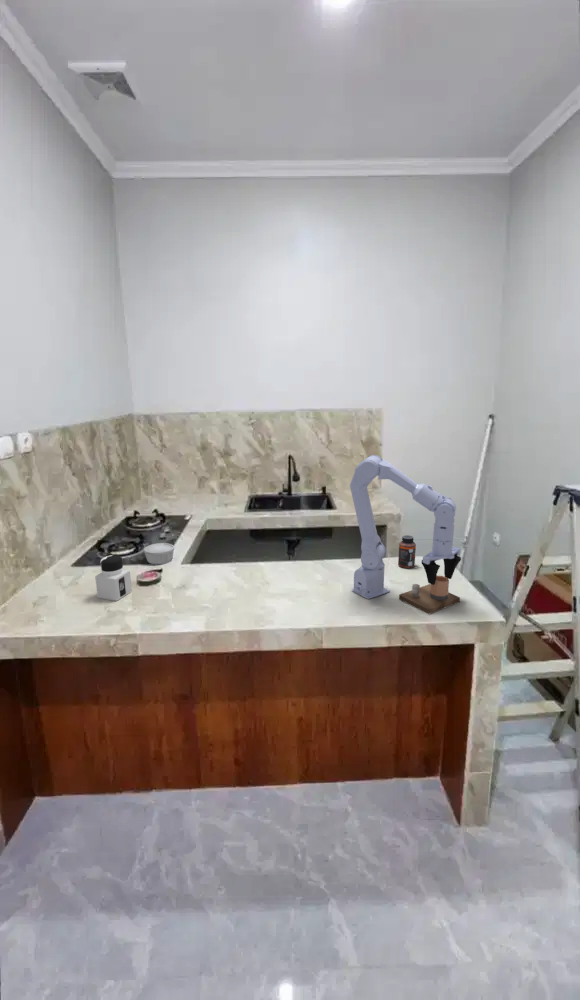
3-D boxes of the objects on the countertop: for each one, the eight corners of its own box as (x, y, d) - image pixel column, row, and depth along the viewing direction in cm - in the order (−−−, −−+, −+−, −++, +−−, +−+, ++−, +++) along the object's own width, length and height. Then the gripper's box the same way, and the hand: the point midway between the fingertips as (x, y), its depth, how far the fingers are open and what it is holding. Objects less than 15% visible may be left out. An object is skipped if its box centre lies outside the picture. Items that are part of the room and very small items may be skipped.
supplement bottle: (415, 569, 171) (416, 539, 168) (398, 568, 172) (399, 539, 170) (414, 563, 177) (415, 534, 174) (397, 562, 178) (399, 533, 175)
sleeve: (439, 601, 143) (441, 583, 141) (426, 595, 147) (427, 578, 145) (450, 597, 146) (452, 579, 144) (437, 591, 150) (438, 574, 148)
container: (132, 591, 156) (128, 554, 153) (117, 601, 149) (112, 563, 146) (113, 588, 159) (109, 552, 156) (97, 598, 152) (92, 560, 149)
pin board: (428, 614, 139) (429, 598, 137) (398, 598, 148) (399, 584, 147) (459, 601, 146) (461, 587, 145) (429, 588, 156) (430, 574, 155)
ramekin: (181, 558, 185) (180, 545, 184) (159, 568, 176) (158, 554, 175) (160, 553, 191) (159, 541, 190) (139, 562, 182) (137, 549, 181)
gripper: (437, 547, 135) (433, 591, 138) (469, 537, 142) (466, 579, 145) (418, 540, 140) (415, 582, 144) (450, 531, 148) (447, 572, 151)
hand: (439, 580), depth 145 cm, fingers open, 7 cm apart
